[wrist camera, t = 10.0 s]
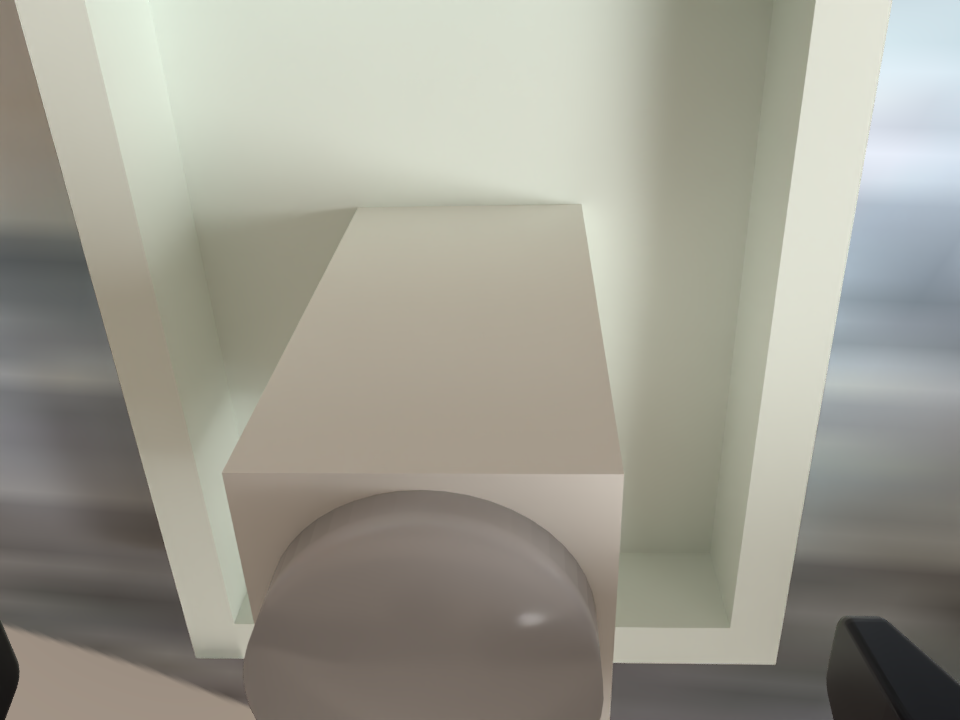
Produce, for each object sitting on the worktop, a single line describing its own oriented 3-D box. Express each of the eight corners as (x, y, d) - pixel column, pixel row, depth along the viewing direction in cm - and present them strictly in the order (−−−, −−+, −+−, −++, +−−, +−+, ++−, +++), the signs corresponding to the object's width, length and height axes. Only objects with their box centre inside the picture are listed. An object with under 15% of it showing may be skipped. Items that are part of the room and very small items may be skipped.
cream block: (581, 203, 16) (634, 542, 8) (576, 396, 17) (616, 825, 10) (358, 207, 16) (187, 538, 8) (377, 397, 18) (256, 815, 10)
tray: (840, -126, 14) (914, -125, 11) (743, 563, 20) (775, 664, 18) (89, -93, 14) (-10, -86, 12) (237, 560, 21) (196, 658, 18)
